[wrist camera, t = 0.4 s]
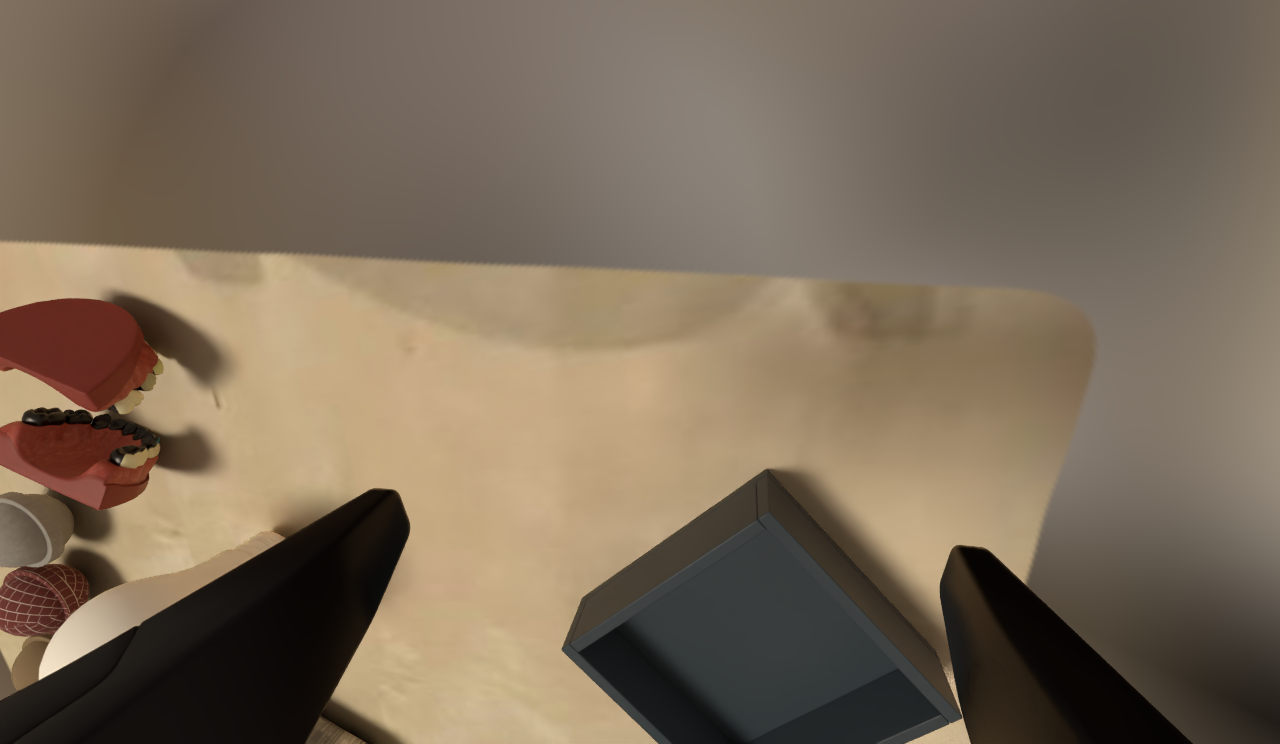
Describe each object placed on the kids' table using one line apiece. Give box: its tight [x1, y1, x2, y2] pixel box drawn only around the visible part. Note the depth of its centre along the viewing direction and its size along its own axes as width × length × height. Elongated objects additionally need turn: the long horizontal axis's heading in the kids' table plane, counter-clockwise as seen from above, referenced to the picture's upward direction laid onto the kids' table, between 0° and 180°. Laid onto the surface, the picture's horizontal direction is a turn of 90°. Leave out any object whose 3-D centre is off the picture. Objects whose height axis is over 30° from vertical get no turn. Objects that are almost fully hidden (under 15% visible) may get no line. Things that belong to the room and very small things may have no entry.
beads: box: [0, 492, 90, 691], centre depth 35 cm, size 25×5×4 cm, turn 171°
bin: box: [562, 469, 962, 744], centre depth 26 cm, size 12×12×4 cm
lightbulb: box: [39, 532, 286, 680], centre depth 26 cm, size 6×6×11 cm
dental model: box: [0, 298, 164, 510], centre depth 28 cm, size 7×5×10 cm
